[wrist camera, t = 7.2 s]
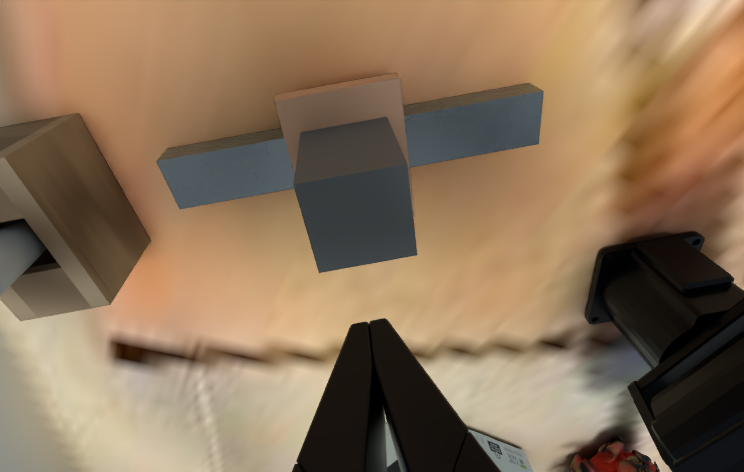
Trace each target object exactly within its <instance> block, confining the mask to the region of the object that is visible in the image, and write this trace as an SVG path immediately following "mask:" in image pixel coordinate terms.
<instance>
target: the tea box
mask: <svg viewBox="0 0 744 472" xmlns="http://www.w3.org/2000/svg"><path fill="white" fill-rule="evenodd" d="M385 428H386V455H387V472H401V470H400V466H399V463H398V459H397V456H396V452H395V449H394V445H393V441H392V438H391V434H390V431H389V427H388V423H385ZM468 430H469V429H468ZM469 432H471V433H472V434H473V436H474V437H475V438H476V440H477V441H478V442H479V444H480V445H481V446H482V448H483V449H484V450H485V452H486V453H487V454H488V455H489V457H490V458H491V459H492V460H493V462H494V463H495V464H496V465H497V467H498V468H499V469H500V471H501V472H533V471H532V468H531V466H530V464H529V462H528V460H527V457H526V455H525V453H524V451H522V449H519V448H515V447H513V446H510V445H508V444H505V443H502V442H500V441H497V440H495V439H492V438H491V437H488V436H486V435H483V434H480V433H477V432H475V431H472V430H469Z"/></svg>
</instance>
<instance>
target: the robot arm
mask: <svg viewBox="0 0 744 472" xmlns="http://www.w3.org/2000/svg"><path fill="white" fill-rule="evenodd" d="M704 239H705V238H704V237H703V236H702V235H701V234H699V233H697V232H693V233H687V234H682V235H676V236H671V237H665V238H660V239H654V240H649V241H643V242H638V243H632V244H627V245H621V246H616V247H610V248H606V249H604V250H602V251H601V252H600V253H599V256H598V260H597V265H596V269H595V274H594V279H593V283H592V288H591V292H590V297H589V302H588V306H587V311H586V315H585V318H586V320H587V321H588V322H589V324H598V323H603V322H609V321H612V322H613V323H614V324H615V325H616V327H617V328H618V329H619V330H620V332H621V333H622V334H623V335H624V336H625V338H626V339H627V340H628V341H629V342H630V344H631V345H632V346H633V347H634V349H635V350H636V351H637V352H638V353H639V355H640V356H641V357H642V358H643V360H644V361H645V362H646V363H647V364H648V366H649V367H650V368H651V369H652V370H651V371H650V372H648V373H647V374H646V375H644V376H643V377H642V378H641V379H639V380H638V381H634V382H633V383H631V384H630V385H629V386H628V389H629V391H630V393H631V396H632V398H633V400H634V403H635V405H636V407H637V409H638V411H639V413H640V415H641V417H642V419H643V421H644V423H645V425H646V427H647V429H648V431H649V433H650V435H651V437H652V439H653V441H654V443H655V445H656V447H657V449H658V451H659V453H660V455H661V457H662V459H663V461H664V462H665V463H666V464H667V465H668V466H669V468H670V469H671V471H672V472H744V291H743V290H742V289H741V288H739V287H738V286H737V285H735V284H734V283H733V281H734V278H733V276H731V275H730V274H729V273H728V272H726V271H725V270H724V269H722V268H721V267H720V266H718V265H717V264H716V263H714V262H713V261H712V260H710V259H709V258H708V257H706V256H705V255H704V254H702V253H701V252H700V250H701V248H702V245H703V243H704ZM384 411H385V414H384ZM385 415H386V419H387V423H388V427H389V431H390V434H391V438H392V441H393V445H394V449H395V452H396V456H397V459H398V463H399V466H400V470H401V472H501V471H500V469H499V468H498V467H497V465H496V464H495V463H494V462H493V460H492V459H491V458H490V457H489V455H488V454H487V453H486V452H485V450H484V449H483V448H482V446H481V445H480V444H479V442H478V441H477V440H476V438H475V437H474V436H473V434H472V433H471V432H469V430H468V428H467V426H466V425H465V424H464V422H463V421H462V420H461V418H460V417H459V416H458V414H457V413H456V412H455V410H454V409H453V408H452V406H451V405H450V404H449V402H448V401H447V399H446V398H445V397H444V395H443V394H442V393H441V391H440V390H439V389H438V387H437V386H436V385H435V383H434V382H433V381H432V379H431V378H430V377H429V375H428V374H427V373H426V371H425V370H424V368H423V367H422V366H421V364H420V363H419V362H418V360H417V359H416V358H415V356H414V355H413V354H412V352H411V351H410V350H409V348H408V347H407V346H406V344H405V343H404V341H403V340H402V339H401V337H400V336H399V335H398V333H397V332H396V331H395V329H394V328H393V327H392V325H391V324H390V323H389V321H388V320H387V319H385V318H383V319H378V320H372V321H370V323H368V322H361V323H356V324H352V325H351V326H350V328H349V331H348V333H347V336H346V338H345V341H344V343H343V346H342V348H341V351H340V353H339V356H338V358H337V361H336V363H335V366H334V368H333V371H332V373H331V376H330V378H329V381H328V383H327V386H326V388H325V391H324V393H323V396H322V398H321V401H320V403H319V406H318V408H317V411H316V413H315V416H314V418H313V421H312V423H311V426H310V428H309V431H308V433H307V436H306V438H305V441H304V443H303V446H302V448H301V451H300V453H299V456H298V458H297V463H298V464H295V465H294V468H293V470H292V472H387V455H386V428H385Z"/></svg>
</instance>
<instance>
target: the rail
mask: <svg viewBox="0 0 744 472" xmlns="http://www.w3.org/2000/svg"><path fill="white" fill-rule="evenodd" d="M542 102H543V90H541V89H539V88H537V87H535V86H534V85H532V84H530V83H526V84H521V85H515V86H510V87H504V88H499V89H493V90H488V91H482V92H477V93H471V94H466V95H460V96H455V97H449V98H444V99H438V100H433V101H427V102H422V103H416V104H411V105H405V106H403V111H404V121H405V131H406V140H407V150H408V159H409V167H415V166H420V165H426V164H431V163H437V162H442V161H448V160H453V159H459V158H464V157H470V156H475V155H481V154H486V153H492V152H497V151H503V150H508V149H514V148H519V147H525V146H530V145H536V144H539V134H540V124H541V113H542ZM156 162H157V164H158V166H159V168H160V170H161V172H162V174H163V176H164V178H165V180H166V182H167V184H168V186H169V188H170V190H171V192H172V194H173V196H174V198H175V201H176V203H177V205H178V207H179V209H184V208H189V207H195V206H200V205H206V204H211V203H217V202H222V201H228V200H233V199H239V198H244V197H250V196H255V195H261V194H266V193H272V192H277V191H283V190H288V189H294V185H293V184H294V177H295V173H294V170H293V166H292V163H291V159H290V156H289V152H288V149H287V145H286V142H285V138H284V135H283V131H282V128H279V129H273V130H268V131H262V132H257V133H251V134H246V135H240V136H235V137H229V138H224V139H218V140H213V141H207V142H202V143H196V144H190V145H185V146H179V147H174V148H168V149H166V151H165V152H164V153H163V154H162V155H161V156H160V158H159V159H158V160H157V161H156Z"/></svg>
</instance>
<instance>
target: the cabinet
mask: <svg viewBox="0 0 744 472" xmlns="http://www.w3.org/2000/svg"><path fill="white" fill-rule="evenodd" d="M22 218H24V219H25V220H26V222H27V223H28V224H29V225H30V227H31V228H32V229H33V231H34V232H35V233H36V235H37V236H38V237H39V239H40V240H41V241H42V243H43V244H44V245H45V247H46V248H47V249H46V250H45V251H44V252H43V253H42V254H41V255H40V256H39V257H38V258H37V259H36V260H35V262H34V263H33V264H32V265H31V266H30V267H29V268H28V269H27V270H26V271H25V272H24V273H23V274H22V275H21V276H20V277H19V278H18V279H17V280H16V281H15V282H14V283H13V284H12V285H11V286H10V287H9V288H8V289H7V290H6V291H5V292H4V293H3V294H2V295H1V296H0V300H1V301H2V302H3V303H4V304H5V305H6V306H7V307H8V308H9V310H10V311H11V312H12V313H13V314H14V315H15V316H16V317H17V318H18V319H19V320H20V321H24V320H30V319H35V318H41V317H46V316H52V315H57V314H63V313H68V312H74V311H79V310H85V309H90V308H96V307H101V306H107V305H110V304H111V303H112V301H113V300H114V298H115V296H116V295H117V293H118V292H119V290H120V289H121V287H122V285H123V284H124V282H125V281H126V279H127V278H128V276H129V274H130V273H131V271H132V270H133V268H134V266H135V265H136V263H137V262H138V260H139V259H140V257H141V255H142V254H143V252H144V251H145V249H146V248H147V246H148V244H149V243H150V241H151V240H150V238H149V237H148V235H147V233H146V231H145V230H144V228H143V226H142V224H141V223H140V221H139V219H138V217H137V216H136V214H135V212H134V210H133V208H132V207H131V205H130V203H129V201H128V200H127V198H126V196H125V194H124V193H123V191H122V189H121V187H120V186H119V184H118V182H117V180H116V179H115V177H114V175H113V173H112V172H111V170H110V168H109V166H108V164H107V163H106V161H105V159H104V157H103V156H102V154H101V152H100V150H99V149H98V147H97V145H96V143H95V142H94V140H93V138H92V136H91V135H90V133H89V131H88V129H87V127H86V126H85V124H84V122H83V120H82V119H81V117H80V115H79V113H77V114H72V115H66V116H61V117H55V118H50V119H44V120H39V121H33V122H28V123H22V124H17V125H11V126H6V127H0V229H1V228H2V227H4V226H5V225H6V224H7V223H9V222H10V221H11V220H17V219H22Z"/></svg>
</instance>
